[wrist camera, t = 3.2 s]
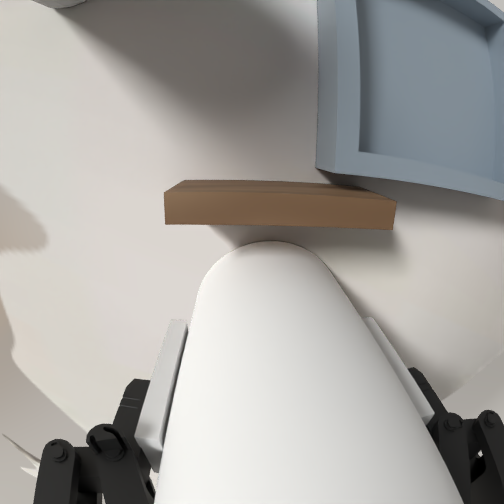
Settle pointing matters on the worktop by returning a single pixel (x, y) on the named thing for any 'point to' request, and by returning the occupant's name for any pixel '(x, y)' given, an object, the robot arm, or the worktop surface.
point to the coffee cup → (59, 3)
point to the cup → (291, 396)
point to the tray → (413, 92)
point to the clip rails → (277, 204)
